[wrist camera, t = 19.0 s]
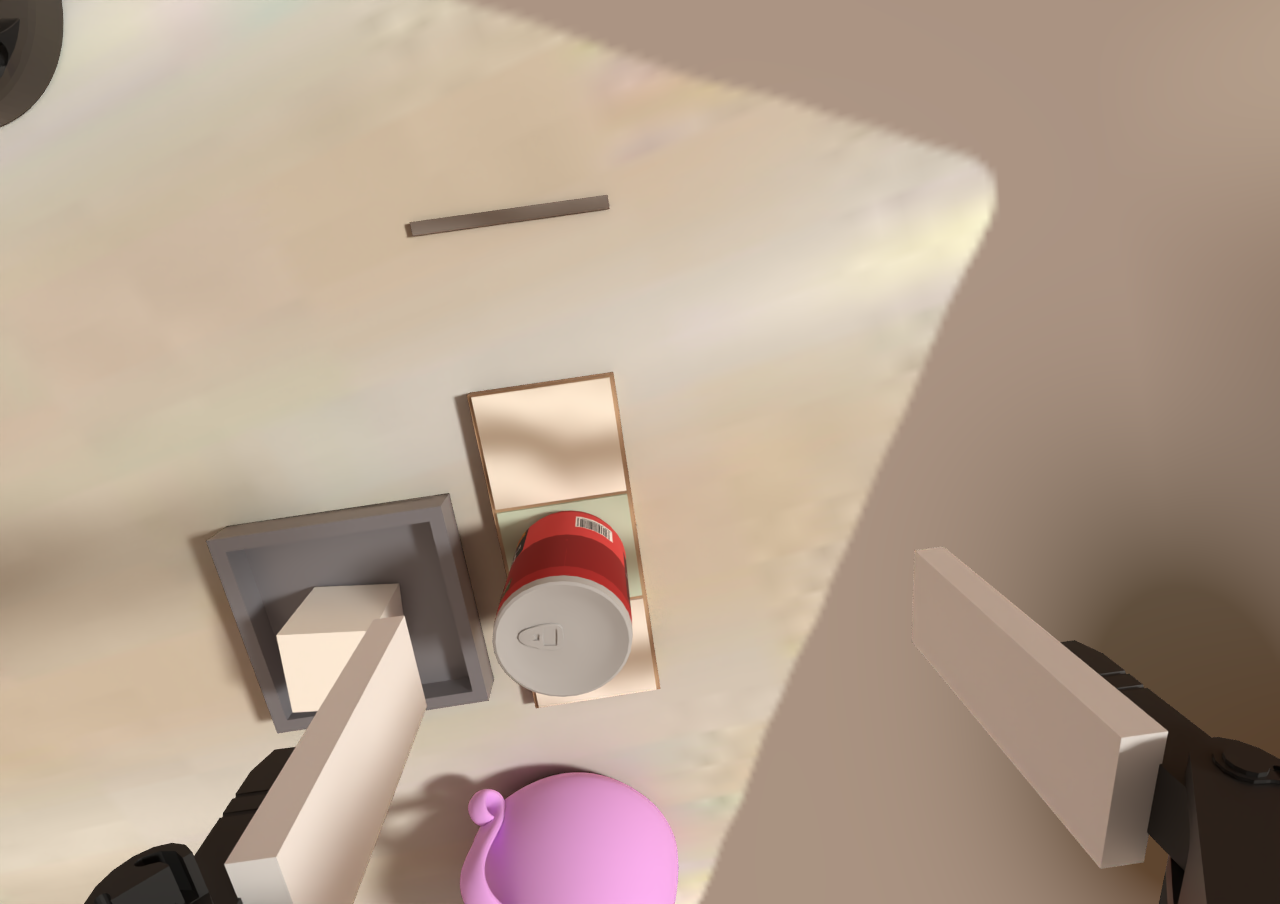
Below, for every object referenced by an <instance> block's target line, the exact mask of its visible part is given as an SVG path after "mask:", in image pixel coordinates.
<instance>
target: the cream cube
mask: <svg viewBox="0 0 1280 904" xmlns="http://www.w3.org/2000/svg"><path fill="white" fill-rule="evenodd" d="M396 616H403V608H402V601H401V593H400V586H399V583H397V584H374V585H351V586H328V587H314V588H313V590H312V591H311V592H310V593H309V595H308V596H307V597H306V599H305V600H304V601H303V602H302V604H301V605H300V606H299V607H298V609H297V610H296V611H295V612H294V614H293V615H292V616H291V617H290V619H289V620H288V621H287V622H286V624H285V625H284V626H283V628H282V629H281V630H280V631H279V633H278V634H277V635H276V636H277V641H278V646H279V651H280V655H281V660H282V665H283V670H284V674H285V679H286V684H287V689H288V693H289V698H290V703H291V708H292V712H293V713H294V712H310V711H318V710H319V708H320V706H321V705H322V703H323V702H324V700H325V698H326V697H327V695H328V693H329V692H330V690H331V688H332V687H333V685H334V684H335V682H336V680H337V679H338V677H339V675H340V674H341V672H342V670H343V669H344V667H345V666H346V664H347V662H348V661H349V659H350V657H351V656H352V654H353V652H354V651H355V649H356V648H357V646H358V644H359V643H360V641H361V639H362V638H363V636H364V634H365V633H366V631H367V629H368V628H369V626H370V625H371V623H372V621H373V620H374V619H381V618H388V617H396Z"/></svg>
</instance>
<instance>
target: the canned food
mask: <svg viewBox="0 0 1280 904" xmlns="http://www.w3.org/2000/svg"><path fill="white" fill-rule="evenodd" d="M632 638H633V630H632V614H631V604H630V594H629V584H628V574H627V564H626V554H625V549H624V546H623V543H622V541H621V539H620V538H619V536H618V534H617V533H616V532H615V531H614V530H613V529H612V527H611V526H610V525H608V524H607V523H606V522H604V521H603V520H602V519H600V518H598V517H596V516H594V515H592V514H589V513H586V512H582V511H572V510H570V511H560V512H556V513H552V514H550V515H548V516H545V517H543V518H541V519H540V520H538V521H537V522H536V523H534V524H533V525H531V526H530V527H529V528H528V529H527V530H526V532H525V533H524V534H523V536H522V537H521V539H520V541H519V542H518V545H517V548H516V552H515V555H514V558H513V561H512V565H511V568H510V571H509V574H508V578H507V581H506V584H505V588H504V591H503V594H502V597H501V601H500V604H499V607H498V610H497V614H496V618H495V622H494V629H493V648H494V653H495V655H496V658H497V660H498V663H499V664H500V666H501V667H502V669H503V670H504V672H505V673H506V674H507V675H508V676H509V677H510V678H511V679H512V680H513V681H515V682H516V683H518V684H519V685H521V686H522V687H524V688H526V689H528V690H531V691H533V692H536V693H539V694H543V695H547V696H557V697H567V696H577V695H581V694H585V693H589V692H591V691H593V690H596V689H598V688H600V687H602V686H603V685H605V684H606V683H608V682H609V681H611V680H612V679H613V678H614V677H615V676H616V675H617V674H618V673H619V672H620V671H621V669H622V668H623V666H624V665H625V663H626V662H627V659H628V657H629V654H630V652H631V645H632Z"/></svg>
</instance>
